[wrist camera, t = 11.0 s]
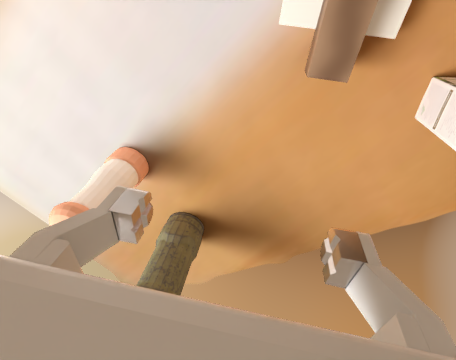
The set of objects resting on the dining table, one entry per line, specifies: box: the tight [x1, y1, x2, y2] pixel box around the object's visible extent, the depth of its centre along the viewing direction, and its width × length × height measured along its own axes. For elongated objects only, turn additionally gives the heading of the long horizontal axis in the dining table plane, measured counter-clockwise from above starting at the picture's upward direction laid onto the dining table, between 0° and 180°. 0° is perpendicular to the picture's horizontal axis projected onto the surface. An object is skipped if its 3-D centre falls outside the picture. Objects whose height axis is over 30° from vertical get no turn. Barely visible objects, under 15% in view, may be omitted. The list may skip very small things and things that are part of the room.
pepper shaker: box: [49, 147, 149, 226], centre depth 40 cm, size 7×7×19 cm
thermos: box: [137, 212, 204, 296], centre depth 42 cm, size 9×12×35 cm
